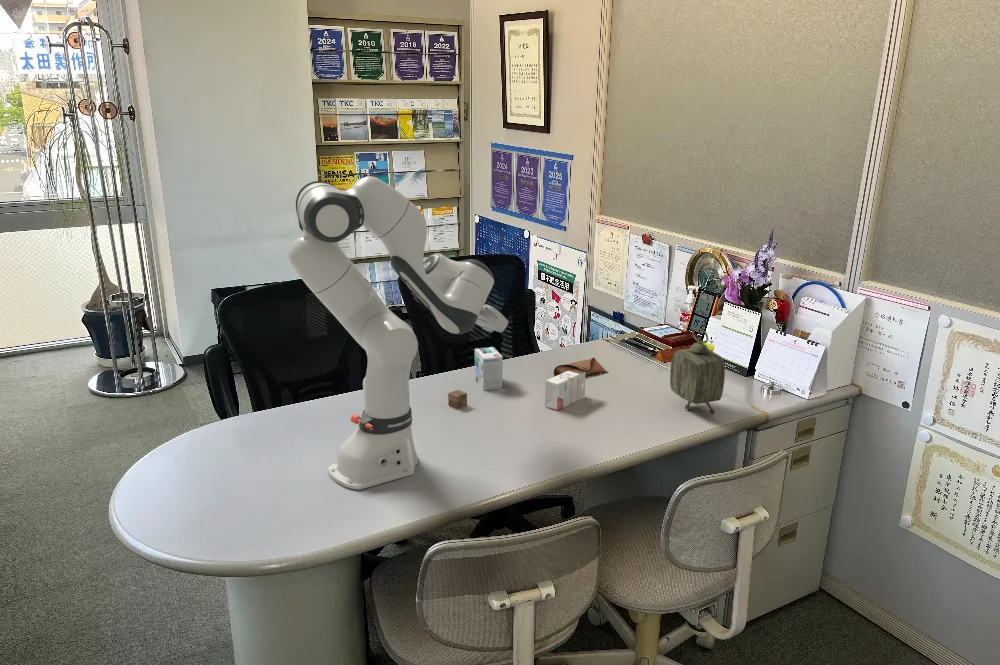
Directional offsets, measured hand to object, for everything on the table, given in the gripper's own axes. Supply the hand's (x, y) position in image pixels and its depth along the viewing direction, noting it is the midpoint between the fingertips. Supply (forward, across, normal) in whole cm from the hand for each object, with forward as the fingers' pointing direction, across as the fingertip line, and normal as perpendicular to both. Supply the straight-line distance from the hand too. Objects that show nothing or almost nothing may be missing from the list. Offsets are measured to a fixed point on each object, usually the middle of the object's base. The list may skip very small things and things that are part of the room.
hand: (490, 328), depth 197 cm
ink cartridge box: (+30, -6, +2) cm, 31 cm away
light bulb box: (+35, +22, +6) cm, 42 cm away
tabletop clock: (+55, -34, -17) cm, 67 cm away
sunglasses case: (+55, +8, -15) cm, 58 cm away
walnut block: (+21, +15, +19) cm, 32 cm away
